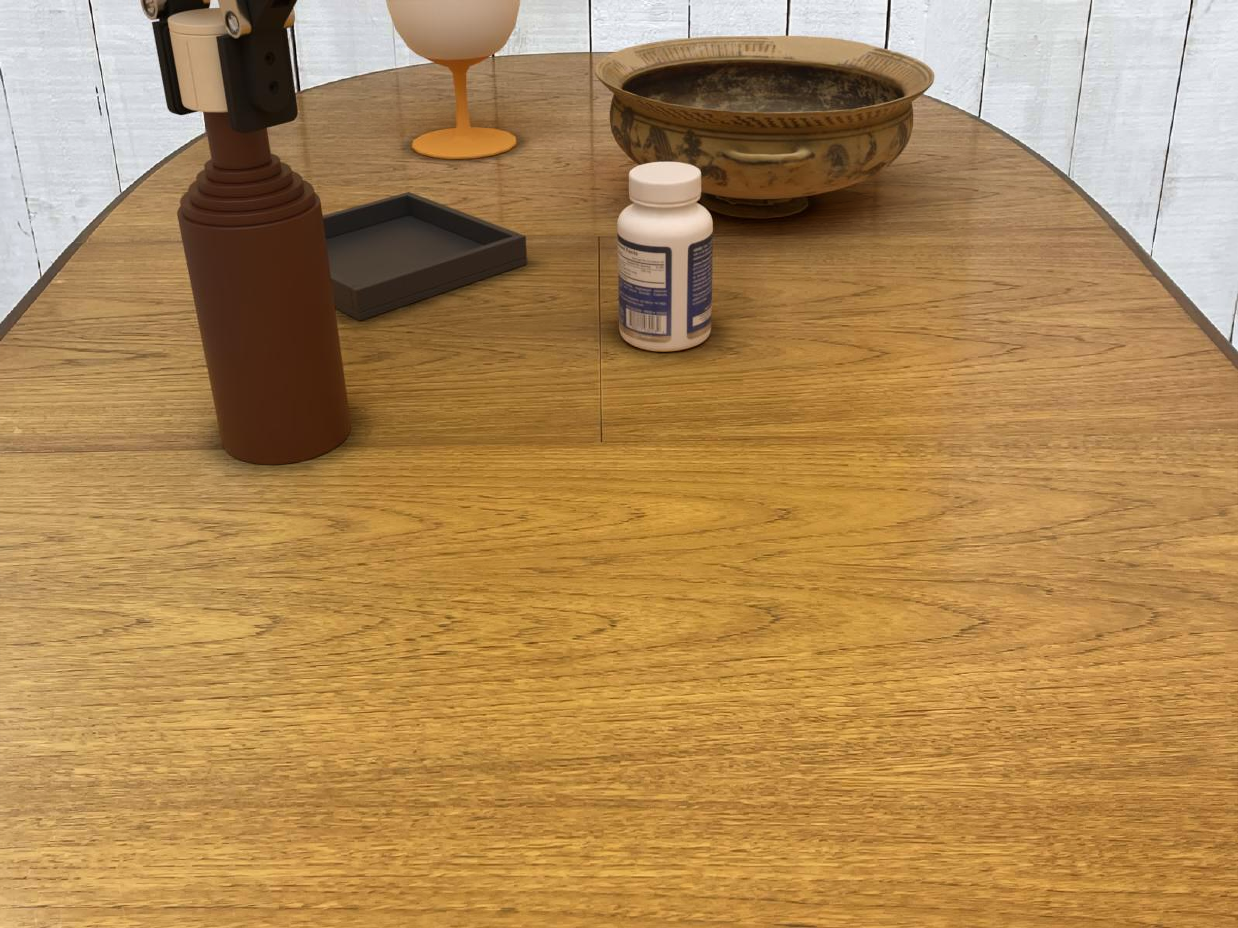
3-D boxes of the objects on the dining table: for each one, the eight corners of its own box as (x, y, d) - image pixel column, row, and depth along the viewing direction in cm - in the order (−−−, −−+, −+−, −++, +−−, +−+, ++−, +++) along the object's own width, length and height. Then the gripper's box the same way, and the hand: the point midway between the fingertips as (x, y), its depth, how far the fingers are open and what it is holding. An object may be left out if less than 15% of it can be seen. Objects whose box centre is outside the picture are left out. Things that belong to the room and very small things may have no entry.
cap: (233, 117, 53) (219, 28, 51) (162, 107, 55) (146, 20, 53) (292, 95, 56) (281, 11, 54) (223, 86, 58) (210, 4, 56)
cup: (542, 127, 113) (534, -79, 104) (519, 165, 103) (508, -58, 94) (414, 124, 114) (396, -79, 105) (379, 162, 104) (355, -59, 95)
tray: (249, 264, 84) (244, 236, 83) (411, 217, 92) (408, 191, 91) (360, 321, 76) (356, 290, 75) (527, 264, 84) (526, 235, 83)
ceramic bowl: (946, 280, 80) (967, 124, 75) (575, 272, 82) (571, 120, 77) (896, 146, 106) (909, 23, 101) (615, 142, 108) (613, 22, 103)
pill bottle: (691, 311, 77) (694, 152, 72) (724, 346, 72) (730, 180, 67) (606, 323, 75) (603, 162, 70) (635, 359, 71) (634, 191, 66)
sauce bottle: (198, 434, 64) (126, 84, 55) (306, 392, 68) (255, 59, 59) (265, 479, 60) (198, 109, 51) (376, 432, 64) (332, 81, 55)
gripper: (383, -384, 44) (424, 132, 54) (120, -365, 54) (194, 73, 63) (203, -397, 39) (283, 173, 49) (-54, -374, 49) (55, 103, 58)
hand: (232, 112), depth 56 cm, fingers closed on cap, 3 cm apart
